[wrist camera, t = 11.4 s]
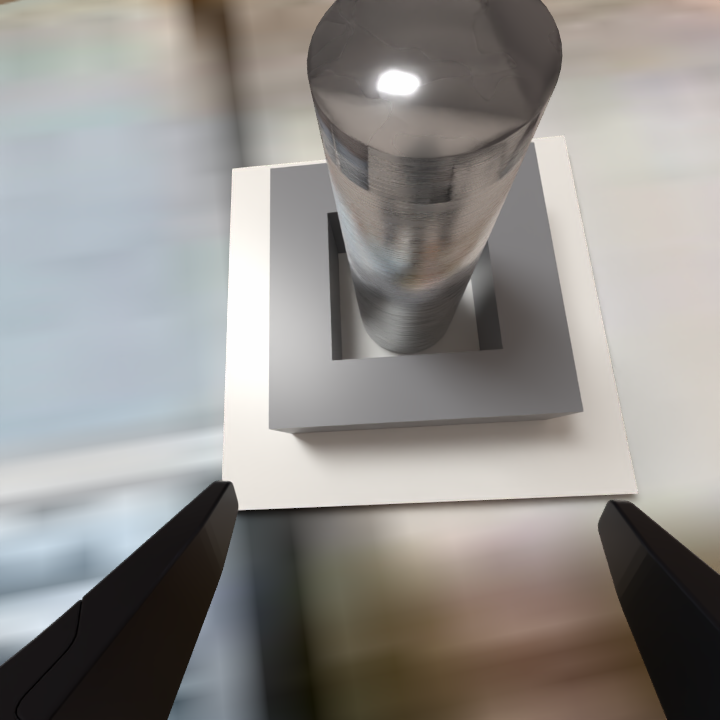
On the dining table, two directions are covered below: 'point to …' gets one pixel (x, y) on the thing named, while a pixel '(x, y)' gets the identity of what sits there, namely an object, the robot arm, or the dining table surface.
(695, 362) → the dining table surface
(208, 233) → the dining table surface
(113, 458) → the dining table surface
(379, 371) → the mount
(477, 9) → the grey cylindrical piece
